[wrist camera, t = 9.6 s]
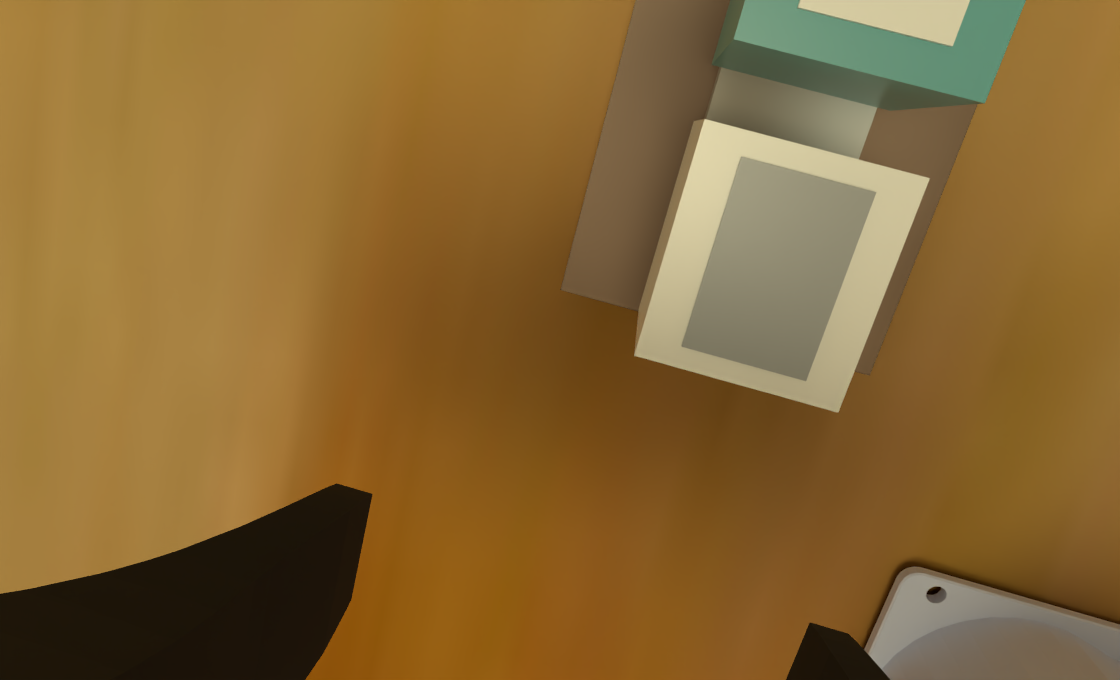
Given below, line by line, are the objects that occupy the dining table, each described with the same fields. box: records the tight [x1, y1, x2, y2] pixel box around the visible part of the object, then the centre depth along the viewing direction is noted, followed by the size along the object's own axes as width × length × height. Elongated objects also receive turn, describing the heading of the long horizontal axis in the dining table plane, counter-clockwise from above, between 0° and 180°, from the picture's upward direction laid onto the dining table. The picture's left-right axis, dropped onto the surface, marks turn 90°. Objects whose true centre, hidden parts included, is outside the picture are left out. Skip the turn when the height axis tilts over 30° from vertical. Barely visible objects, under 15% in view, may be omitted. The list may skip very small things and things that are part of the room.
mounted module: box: [634, 119, 930, 413], centre depth 16 cm, size 4×4×4 cm
